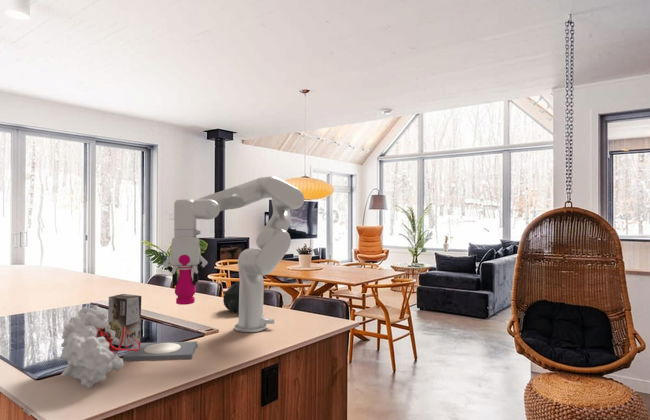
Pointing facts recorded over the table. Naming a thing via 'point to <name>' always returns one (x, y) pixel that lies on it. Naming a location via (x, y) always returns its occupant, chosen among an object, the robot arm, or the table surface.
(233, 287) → the squash
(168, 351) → the board
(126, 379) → the table surface
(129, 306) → the electrical box
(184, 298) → the pepper mill
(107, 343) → the lumpy white molecule
